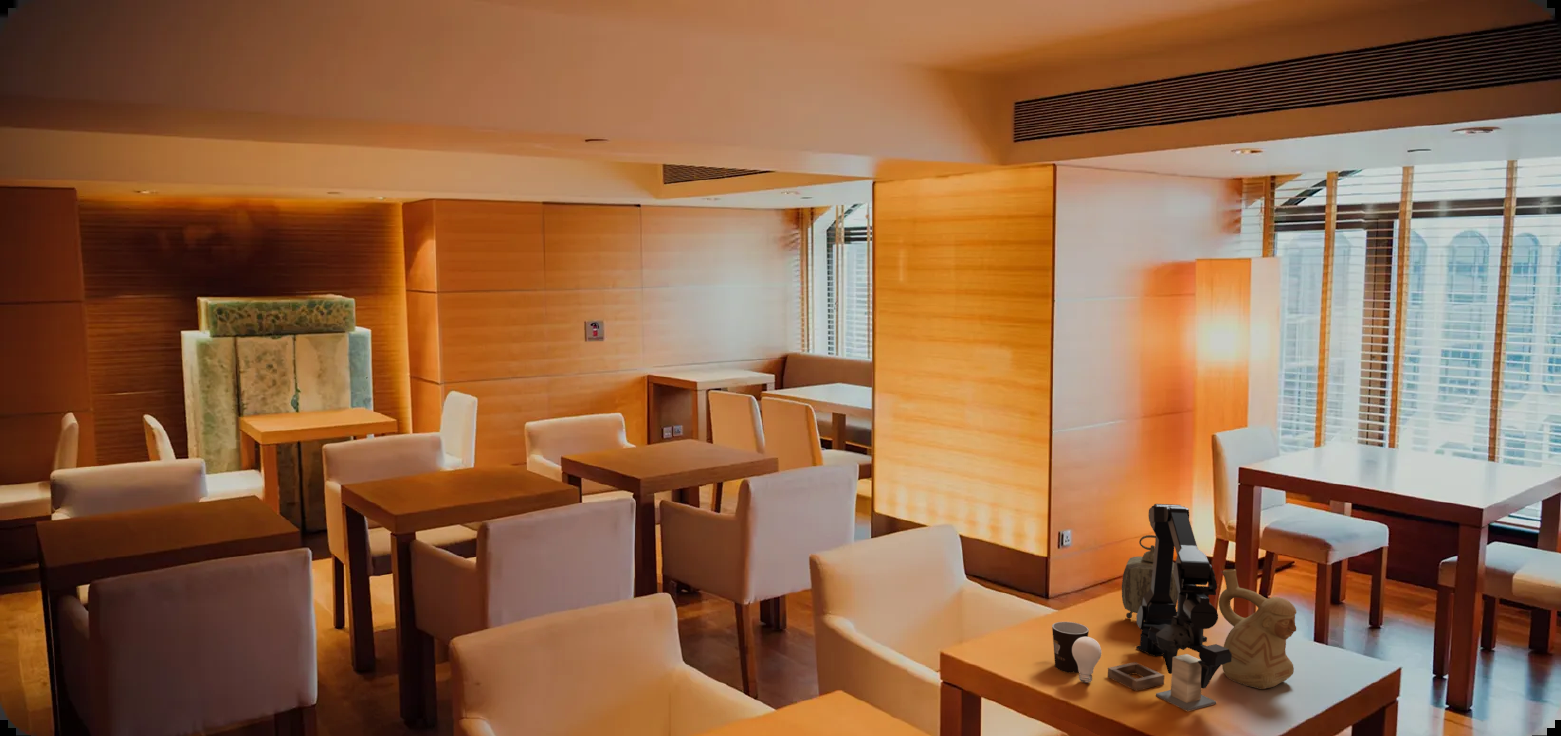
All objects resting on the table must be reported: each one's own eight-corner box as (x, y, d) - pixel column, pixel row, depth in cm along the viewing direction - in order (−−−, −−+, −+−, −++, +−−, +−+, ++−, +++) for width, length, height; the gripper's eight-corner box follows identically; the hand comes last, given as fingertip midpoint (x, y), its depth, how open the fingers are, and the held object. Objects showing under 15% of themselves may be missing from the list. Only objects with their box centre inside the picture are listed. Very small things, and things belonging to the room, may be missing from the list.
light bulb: (1095, 690, 235) (1097, 644, 234) (1066, 684, 239) (1068, 638, 238) (1103, 681, 241) (1105, 636, 240) (1075, 674, 244) (1077, 630, 243)
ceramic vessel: (1270, 700, 232) (1277, 593, 229) (1194, 671, 248) (1200, 570, 246) (1313, 685, 240) (1320, 582, 238) (1237, 658, 257) (1243, 561, 255)
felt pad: (1183, 688, 237) (1184, 686, 237) (1216, 703, 229) (1216, 701, 229) (1155, 695, 233) (1156, 693, 233) (1187, 711, 225) (1187, 708, 225)
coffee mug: (1088, 675, 244) (1090, 635, 243) (1051, 672, 246) (1053, 632, 245) (1084, 657, 255) (1086, 619, 254) (1048, 654, 257) (1050, 616, 256)
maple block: (1184, 691, 234) (1186, 653, 233) (1200, 699, 230) (1202, 660, 229) (1170, 695, 232) (1172, 656, 231) (1186, 702, 228) (1188, 663, 227)
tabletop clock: (1177, 623, 282) (1182, 535, 279) (1175, 634, 274) (1180, 542, 271) (1122, 615, 288) (1126, 528, 285) (1119, 625, 279) (1123, 536, 277)
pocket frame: (1134, 670, 248) (1135, 661, 247) (1163, 684, 240) (1164, 674, 240) (1107, 676, 244) (1108, 667, 243) (1136, 690, 236) (1136, 681, 236)
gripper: (1132, 605, 234) (1129, 671, 235) (1199, 632, 217) (1195, 702, 219) (1167, 599, 239) (1164, 663, 240) (1235, 624, 222) (1231, 693, 224)
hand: (1186, 680), depth 231 cm, fingers open, 9 cm apart
